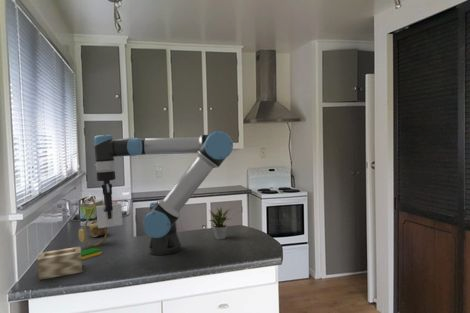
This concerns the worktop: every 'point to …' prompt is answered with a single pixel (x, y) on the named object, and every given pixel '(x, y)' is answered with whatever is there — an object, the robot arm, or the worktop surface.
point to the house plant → (219, 224)
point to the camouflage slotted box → (59, 262)
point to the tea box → (87, 210)
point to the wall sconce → (83, 233)
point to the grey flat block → (116, 215)
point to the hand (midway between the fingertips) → (109, 225)
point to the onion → (97, 230)
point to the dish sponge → (90, 253)
